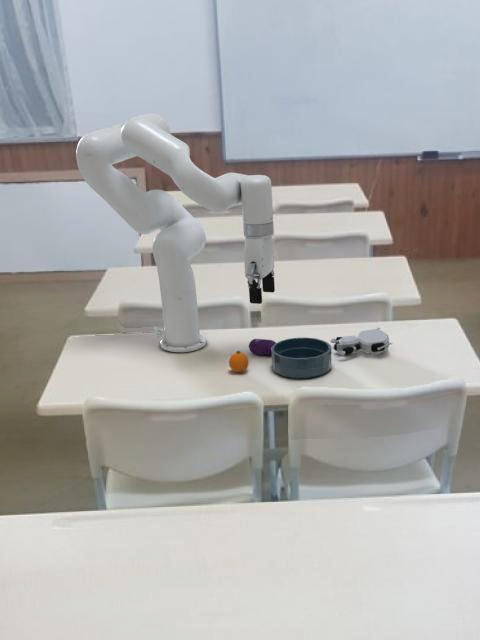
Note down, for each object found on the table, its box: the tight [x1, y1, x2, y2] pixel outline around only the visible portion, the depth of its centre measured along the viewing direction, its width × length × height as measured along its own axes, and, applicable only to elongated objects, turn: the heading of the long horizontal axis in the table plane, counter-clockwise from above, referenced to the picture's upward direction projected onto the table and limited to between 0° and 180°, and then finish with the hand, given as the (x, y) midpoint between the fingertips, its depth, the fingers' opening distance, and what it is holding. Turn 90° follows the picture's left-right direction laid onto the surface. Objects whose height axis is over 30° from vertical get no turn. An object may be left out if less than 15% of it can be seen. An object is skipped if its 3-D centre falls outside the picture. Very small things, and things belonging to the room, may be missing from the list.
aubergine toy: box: [248, 338, 277, 356], centre depth 226 cm, size 9×4×4 cm, turn 72°
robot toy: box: [330, 327, 393, 357], centre depth 226 cm, size 12×4×15 cm
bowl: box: [271, 337, 332, 380], centre depth 217 cm, size 15×15×6 cm
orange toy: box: [228, 350, 249, 373], centre depth 216 cm, size 5×5×6 cm
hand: (262, 297), depth 219 cm, fingers open, 9 cm apart
